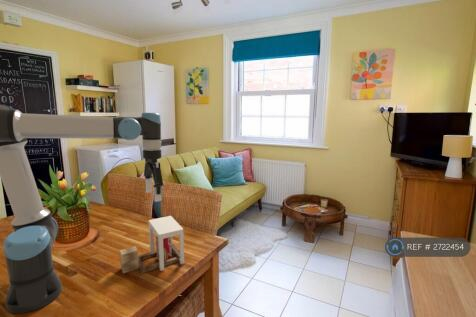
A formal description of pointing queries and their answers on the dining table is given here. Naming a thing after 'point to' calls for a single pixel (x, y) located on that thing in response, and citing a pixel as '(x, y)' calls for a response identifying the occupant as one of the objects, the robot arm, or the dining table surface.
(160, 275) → the dining table surface
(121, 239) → the dining table surface
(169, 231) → the white stool
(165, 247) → the beverage can
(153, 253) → the pull frame
